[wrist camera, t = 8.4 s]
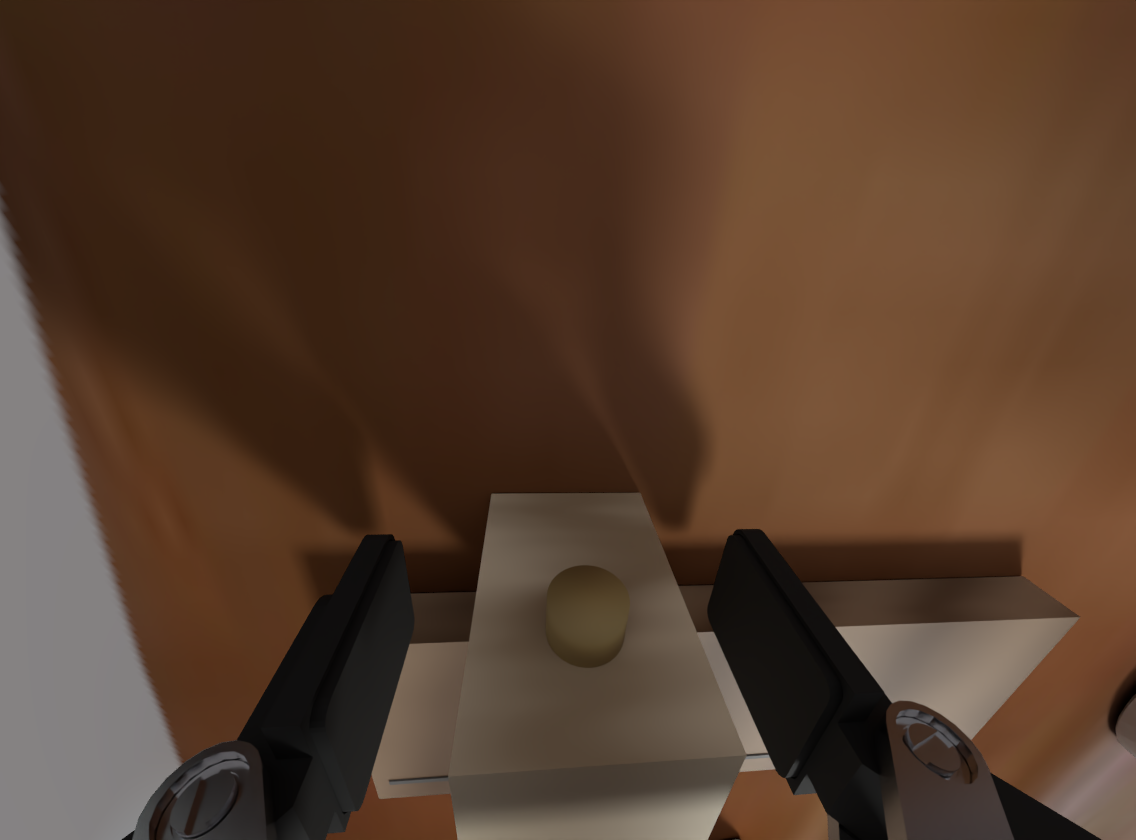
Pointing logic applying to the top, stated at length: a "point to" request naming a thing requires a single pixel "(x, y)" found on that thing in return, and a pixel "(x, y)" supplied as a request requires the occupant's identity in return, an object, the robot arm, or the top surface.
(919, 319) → the top surface
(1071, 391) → the top surface
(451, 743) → the board
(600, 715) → the wooden mallet
